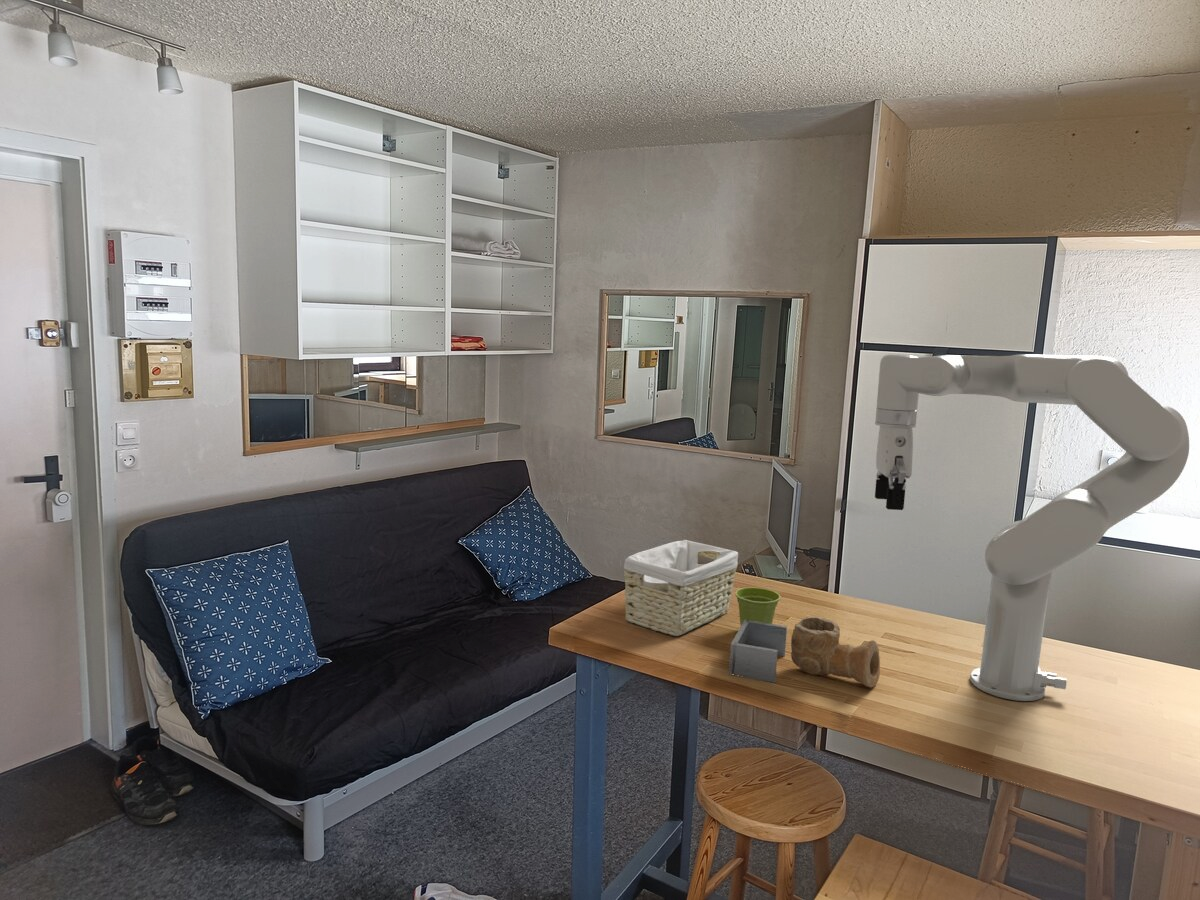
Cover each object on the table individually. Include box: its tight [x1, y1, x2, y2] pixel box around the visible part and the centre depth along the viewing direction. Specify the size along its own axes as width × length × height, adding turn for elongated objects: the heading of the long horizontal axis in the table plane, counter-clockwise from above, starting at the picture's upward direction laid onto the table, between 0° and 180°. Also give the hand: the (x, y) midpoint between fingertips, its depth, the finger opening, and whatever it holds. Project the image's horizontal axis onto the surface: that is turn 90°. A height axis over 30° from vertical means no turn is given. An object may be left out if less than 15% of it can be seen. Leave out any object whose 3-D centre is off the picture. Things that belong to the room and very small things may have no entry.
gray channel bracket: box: [728, 620, 788, 684], centre depth 160 cm, size 8×14×6 cm, turn 160°
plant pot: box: [734, 586, 781, 627], centre depth 176 cm, size 9×9×9 cm
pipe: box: [790, 616, 881, 688], centre depth 155 cm, size 9×16×10 cm, turn 63°
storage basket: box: [623, 539, 739, 637], centre depth 183 cm, size 24×16×15 cm
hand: (888, 503), depth 165 cm, fingers open, 9 cm apart
